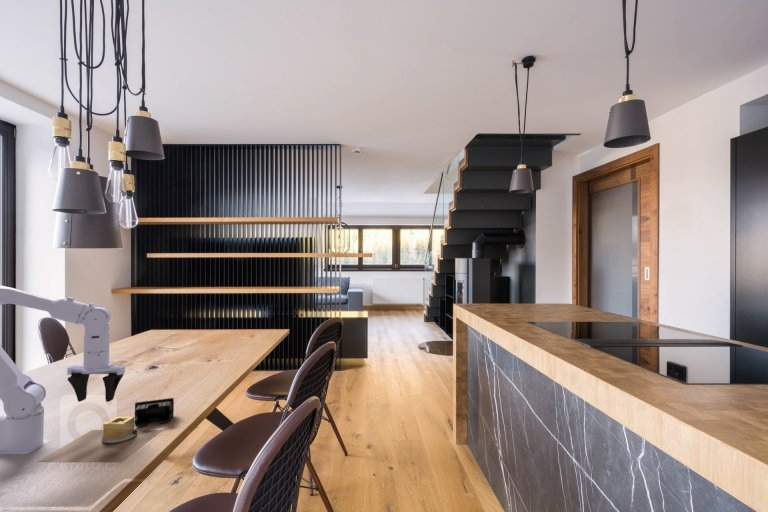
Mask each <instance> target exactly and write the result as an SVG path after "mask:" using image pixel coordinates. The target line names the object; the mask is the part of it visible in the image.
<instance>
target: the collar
mask: <svg viewBox="0 0 768 512" xmlns="http://www.w3.org/2000/svg"><path fill="white" fill-rule="evenodd" d="M118 421H123V422H118ZM134 421H135V416H115V417H112V418H111V419H110V420H108V421H106V422H104V423H103V429H102V430H103V439H124V438H125V437H127V436H128V435H129V434H131V433H132V432H134V429H135V423H134Z"/></svg>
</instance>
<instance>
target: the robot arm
mask: <svg viewBox="0 0 768 512" xmlns="http://www.w3.org/2000/svg"><path fill="white" fill-rule="evenodd" d="M74 299H75V297H72V296H67V298H66V297H60V298H57V299H51V298H47V297H45V296H41V295H38V294H34V293H31V292H27V291H24V290H21V289H18V288H14V287H9V286H5V285H0V306H1V305H7V304H8V305H9V304H12V305H17V306H22V307H25V308H30V309H35V310H39V311H43V312H47V313H48V314H49V315H50V317H51V319H56V320H59V321H63V322H68V323H71V324H76V325H82V326H83V327H84V335H83V365H72V366H69V367H67V368H66V369H67V370H66V371H67V372H66V375H68V376H69V377H67V381H68V382H69V384H70V385H71V387H72V388H73V390H74V393H75V395H76V399H77V402H83V401H84V400H87V394H88V393H87V392H88V383H89V378H90V375H105V376H103V377H102V381H103V384H104V389H105V392H104V394H105V397H104V398H105V402H106V403H107V402H108V403H109V402H111V401H113V400H114V398H115V395H116V391H117V389H118V386H119V384H120V381H122V378H123V376H124V374H125V372H126V365H116V364H110V332H109V331H110V327H109V322H110V321H111V318H112V317H111V315H112V314H111V311H109V309H108V308H107V307H104V306H102V305H96V306H94V305H95V304H94V303H93V302H89V303H85V302H81V301H77V300H74ZM46 395H47V390H46V388H45V386H43V385H42V384H40V383H38V382H36V381H34V380H33V378H32V377H31V376H29V375H27V374H25V373H23V372H22V371H21V369H20V368H19V367H18V366H17V365H16V363H15V362H14V361H13V360H12V358H11V357H10V356H9V354H8V353H7V352H6V351H5V350H4V348H3V347H2V346H1V345H0V400H1V401H2V404H3V411H4V414H3V415H1V416H0V454H1V455H13V454H14V455H15V454H16V455H18V454H19V455H25V454H29V453H31V452H33V451H35V450H36V449H38V448H39V447H40V448H41V447H42V446H44V445H45V444H48V443H49V442H52V441H53V438H52V439H51V438H47V439H46V438H44V430H45V429H44V428H45V427H44V426H45V425H44V424H45V421H44V420H45V408H44V406H43V405H42V402H43V401H44V399H45V398H46Z"/></svg>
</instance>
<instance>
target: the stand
mask: <svg viewBox="0 0 768 512" xmlns="http://www.w3.org/2000/svg"><path fill="white" fill-rule="evenodd" d="M118 422H123V421H118ZM137 430H138V429H135V428H134V432H132V433H131V434H129V435H128V436H127V437H125V438H124V439H103V437H102V441H101V442H102V443H103V444H119V443H123V442H126V441H129V440H131V439H133V438H135V437H136V436H137Z"/></svg>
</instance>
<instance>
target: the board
mask: <svg viewBox="0 0 768 512" xmlns="http://www.w3.org/2000/svg"><path fill="white" fill-rule="evenodd" d="M136 430H137V436H136V437H135V438H133V439H131V440H129V441H126V442H123V443H119V444H103V443H102V442H101V441H102V437H103V429H92V430H91V429H90V430H89V431H88V432H86V433H84V434H82V435H80V436H79V437H77V438H75V439H74V440H73V441H71V442H69V443H67V444H65V445H63V446H62V447H60V448H58V449H56V450H55V451H53V452H51V453H50V454H48V455H46V456H44V457H43V458H41V459H38V461H36V463H123V461H125V460H126V459H127V458H129V457H130V456H131V455H133V454H134V453H136V452H137V451H138V450H139V449H140V448H142V447H143V446H145V444H147V443H148V442H150V441H151V440H152V439H154V438H155V437H156V436H158V434H160V433H162V432H163V431H164V430H163V429H136Z"/></svg>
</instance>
